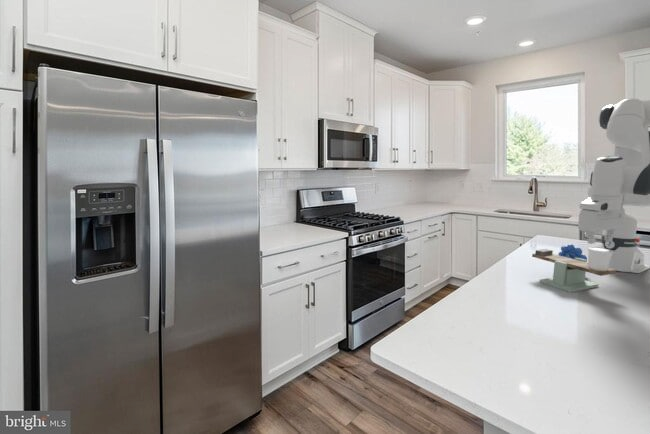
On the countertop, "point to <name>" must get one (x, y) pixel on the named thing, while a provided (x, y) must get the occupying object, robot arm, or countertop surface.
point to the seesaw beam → (569, 262)
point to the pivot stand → (568, 278)
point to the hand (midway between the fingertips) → (599, 242)
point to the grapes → (572, 252)
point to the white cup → (599, 258)
